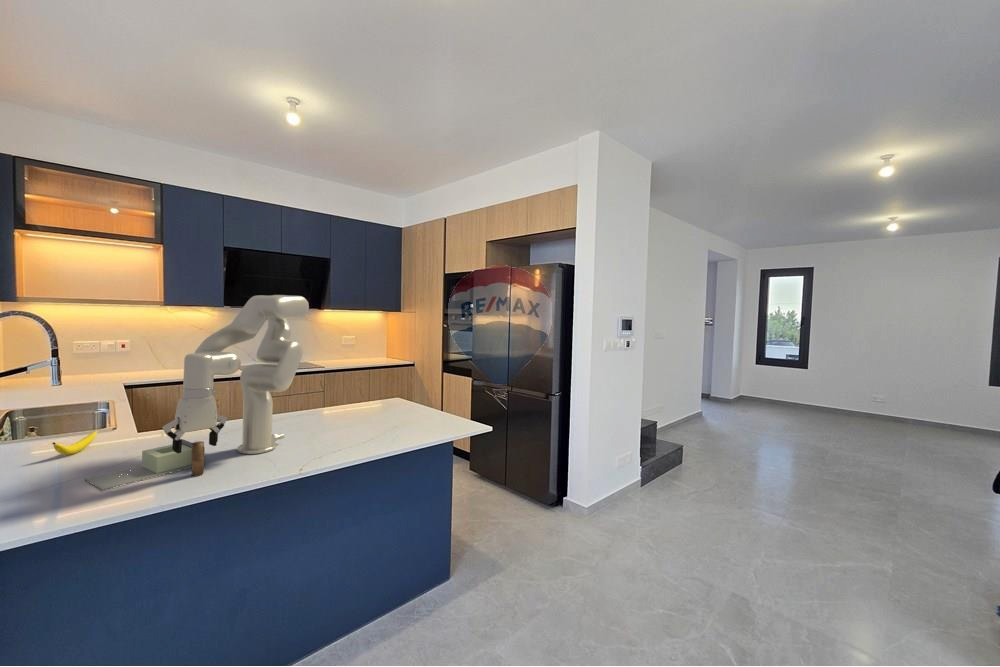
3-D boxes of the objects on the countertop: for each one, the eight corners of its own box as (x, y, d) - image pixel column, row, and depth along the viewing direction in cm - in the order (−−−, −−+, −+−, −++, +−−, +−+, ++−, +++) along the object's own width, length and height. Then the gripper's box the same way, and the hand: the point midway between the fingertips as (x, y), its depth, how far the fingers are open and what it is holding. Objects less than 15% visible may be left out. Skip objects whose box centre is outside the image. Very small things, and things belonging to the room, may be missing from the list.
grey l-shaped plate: (181, 455, 145) (181, 438, 144) (204, 465, 137) (204, 447, 137) (83, 479, 123) (83, 459, 122) (104, 491, 115) (104, 470, 115)
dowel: (200, 471, 132) (200, 440, 131) (205, 474, 130) (205, 442, 130) (189, 474, 129) (190, 443, 129) (194, 477, 128) (195, 445, 127)
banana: (102, 443, 153) (102, 426, 153) (58, 461, 135) (58, 442, 134) (93, 443, 153) (93, 426, 152) (47, 462, 134) (47, 442, 134)
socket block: (178, 457, 142) (178, 443, 141) (193, 463, 137) (193, 448, 136) (142, 466, 133) (142, 450, 133) (156, 473, 128) (157, 457, 128)
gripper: (221, 389, 138) (219, 440, 138) (158, 395, 123) (156, 453, 123) (234, 391, 134) (231, 444, 134) (171, 398, 119) (168, 457, 119)
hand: (195, 448), depth 129 cm, fingers open, 9 cm apart
